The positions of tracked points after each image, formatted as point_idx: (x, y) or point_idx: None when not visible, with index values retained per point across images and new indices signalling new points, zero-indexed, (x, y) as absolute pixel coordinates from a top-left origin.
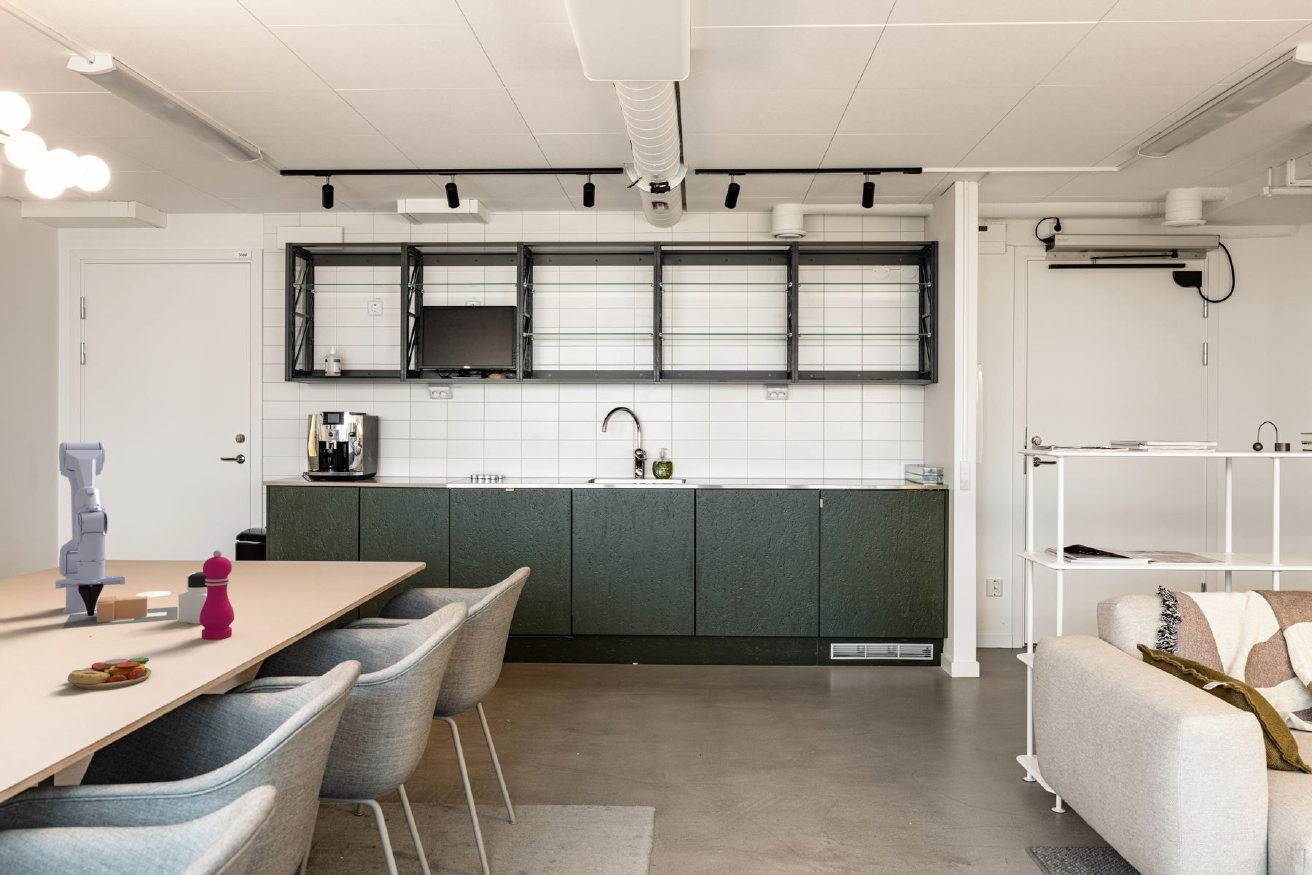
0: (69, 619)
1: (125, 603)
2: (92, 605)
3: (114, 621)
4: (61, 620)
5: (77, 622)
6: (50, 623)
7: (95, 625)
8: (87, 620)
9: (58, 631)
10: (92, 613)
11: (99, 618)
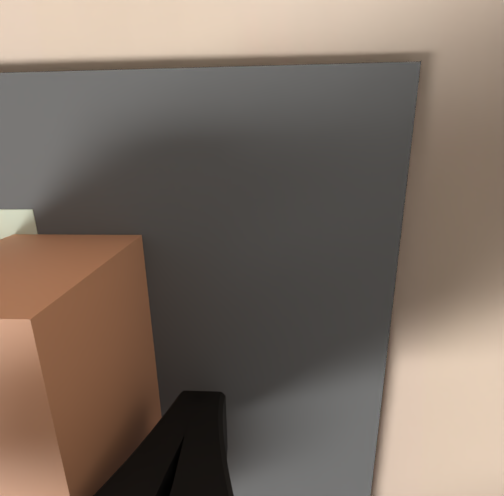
0: (359, 453)
1: None
2: (152, 460)
3: (4, 225)
4: (407, 487)
5: (297, 313)
6: (483, 418)
7: (126, 91)
8: (229, 364)
9: (446, 7)
10: (180, 400)
11: (103, 244)
